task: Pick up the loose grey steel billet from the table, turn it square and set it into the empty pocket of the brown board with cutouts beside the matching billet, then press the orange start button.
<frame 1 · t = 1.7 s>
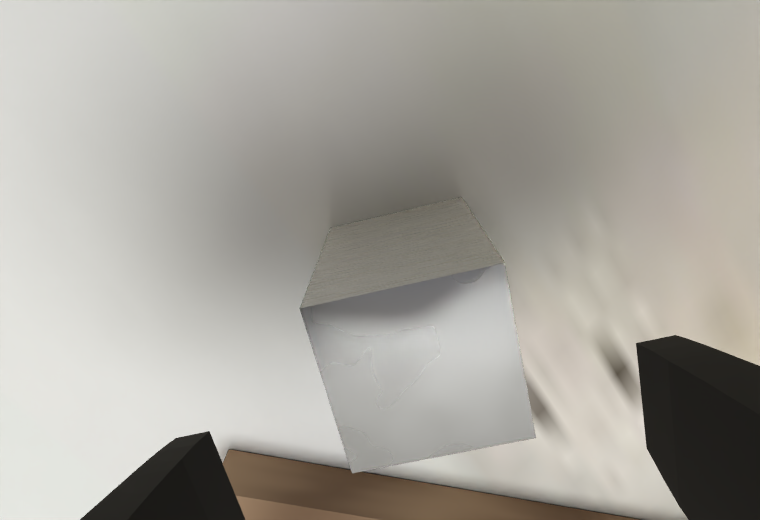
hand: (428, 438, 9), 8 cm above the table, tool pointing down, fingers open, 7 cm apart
steel billet: (410, 273, 16), on the table
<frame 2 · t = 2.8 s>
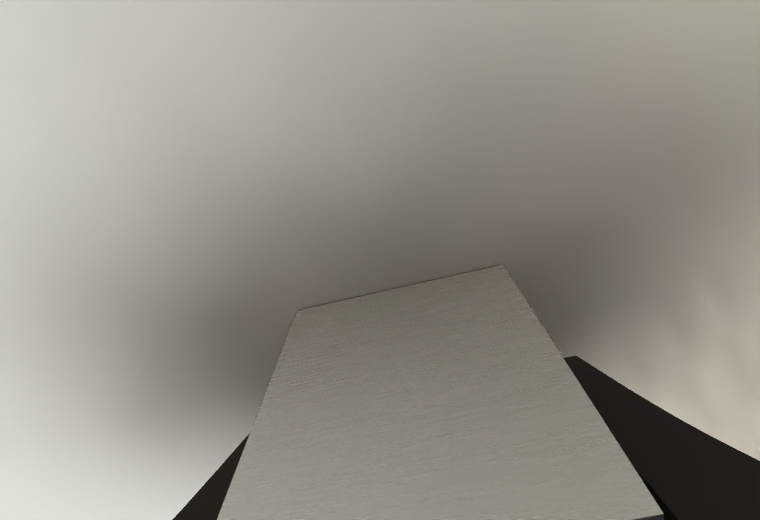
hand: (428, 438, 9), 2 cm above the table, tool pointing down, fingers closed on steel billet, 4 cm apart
steel billet: (420, 377, 11), on the table, touching gripper
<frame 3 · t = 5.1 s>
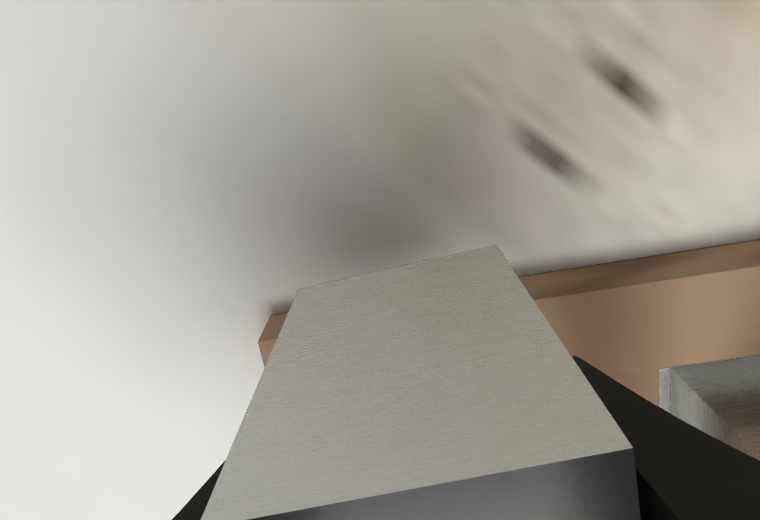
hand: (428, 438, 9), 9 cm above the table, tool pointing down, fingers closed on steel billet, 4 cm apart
steel billet: (417, 355, 11), point 7 cm above the table, touching gripper
brown board with cutouts: (591, 426, 20), on the table
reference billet: (725, 406, 20), resting in brown board with cutouts
when the fingers open (3 cm above the table, at t = 7.6 s): steel billet stays where it is, resting in brown board with cutouts.
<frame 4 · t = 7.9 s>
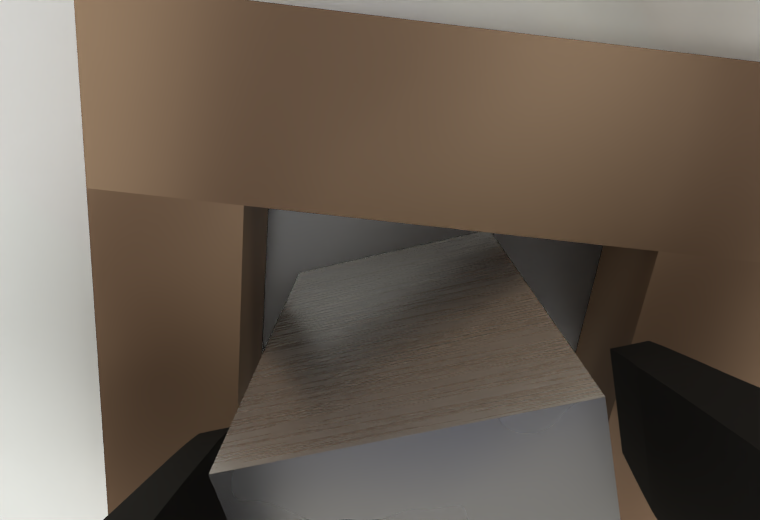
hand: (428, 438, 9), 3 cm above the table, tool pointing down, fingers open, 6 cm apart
steel billet: (413, 336, 12), resting in brown board with cutouts
brown board with cutouts: (638, 376, 12), on the table
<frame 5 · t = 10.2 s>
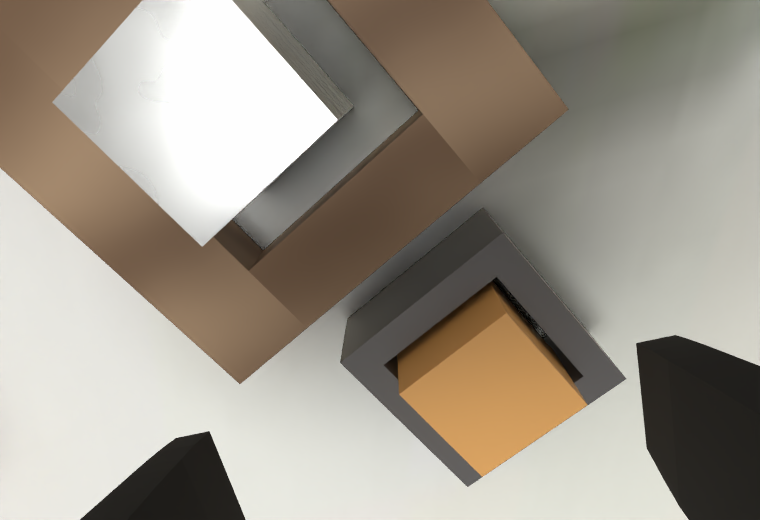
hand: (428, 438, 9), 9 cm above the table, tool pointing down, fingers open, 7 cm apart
start button: (483, 370, 16), point 3 cm above the table, slide at 0.0 cm
button housing: (468, 326, 19), on the table
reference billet: (261, 100, 16), resting in brown board with cutouts
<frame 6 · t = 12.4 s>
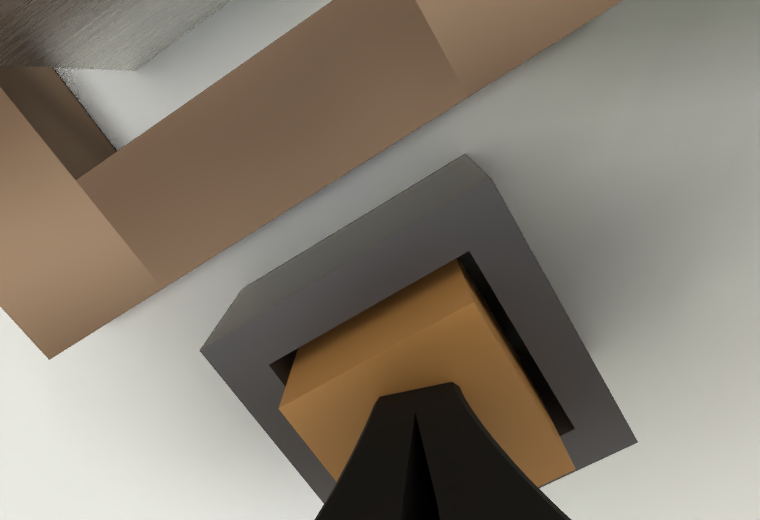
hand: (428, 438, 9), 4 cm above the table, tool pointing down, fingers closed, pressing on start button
start button: (423, 389, 10), point 3 cm above the table, slide at 0.3 cm, touching gripper
button housing: (416, 327, 13), on the table
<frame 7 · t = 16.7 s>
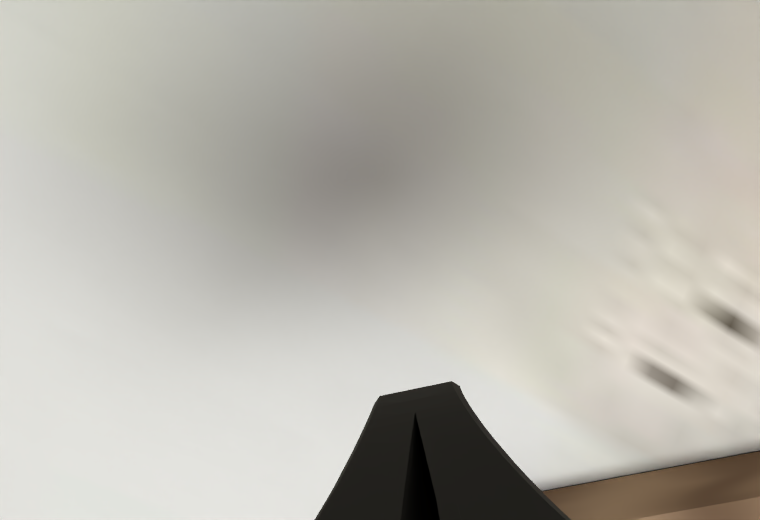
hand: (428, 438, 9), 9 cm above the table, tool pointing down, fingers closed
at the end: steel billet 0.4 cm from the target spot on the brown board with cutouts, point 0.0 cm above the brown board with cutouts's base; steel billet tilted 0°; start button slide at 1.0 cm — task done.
